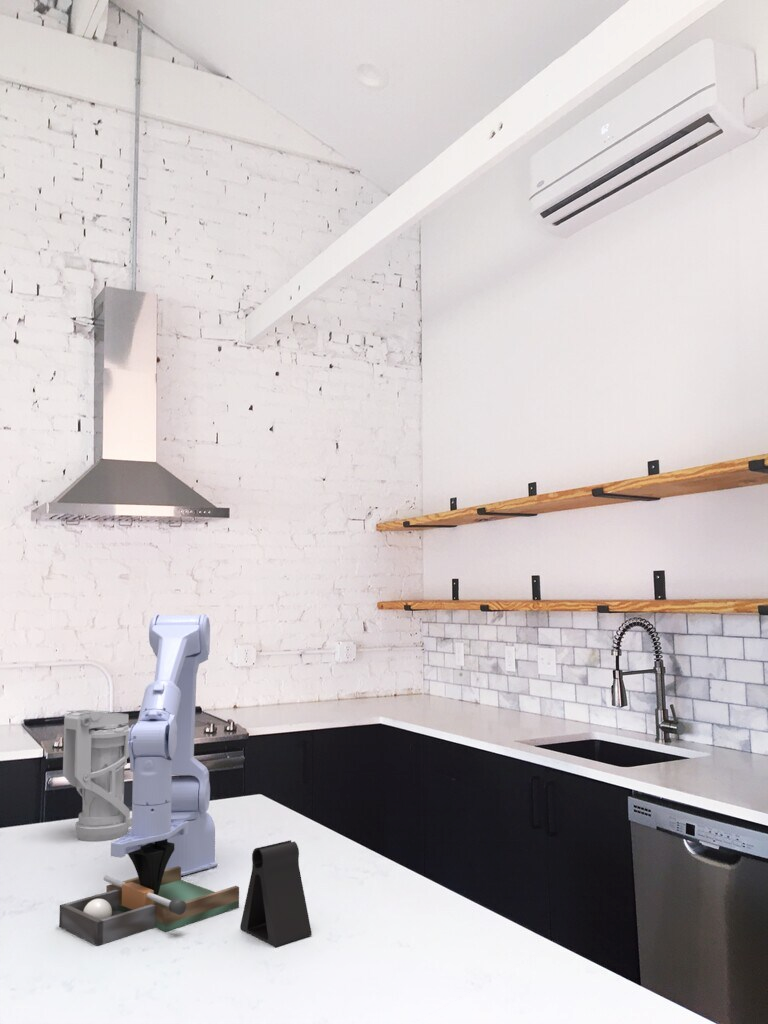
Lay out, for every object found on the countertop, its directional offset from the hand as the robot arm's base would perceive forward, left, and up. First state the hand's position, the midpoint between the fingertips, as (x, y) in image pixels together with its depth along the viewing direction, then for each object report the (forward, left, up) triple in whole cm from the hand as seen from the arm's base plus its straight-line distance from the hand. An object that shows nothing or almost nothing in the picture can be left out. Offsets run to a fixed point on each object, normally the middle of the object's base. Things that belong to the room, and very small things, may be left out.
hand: (150, 894), depth 131 cm
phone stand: (-7, +20, -3) cm, 22 cm away
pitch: (+1, 0, -3) cm, 3 cm away
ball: (+9, 0, 0) cm, 9 cm away
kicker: (+2, +1, -1) cm, 3 cm away
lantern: (-17, -46, -3) cm, 49 cm away
